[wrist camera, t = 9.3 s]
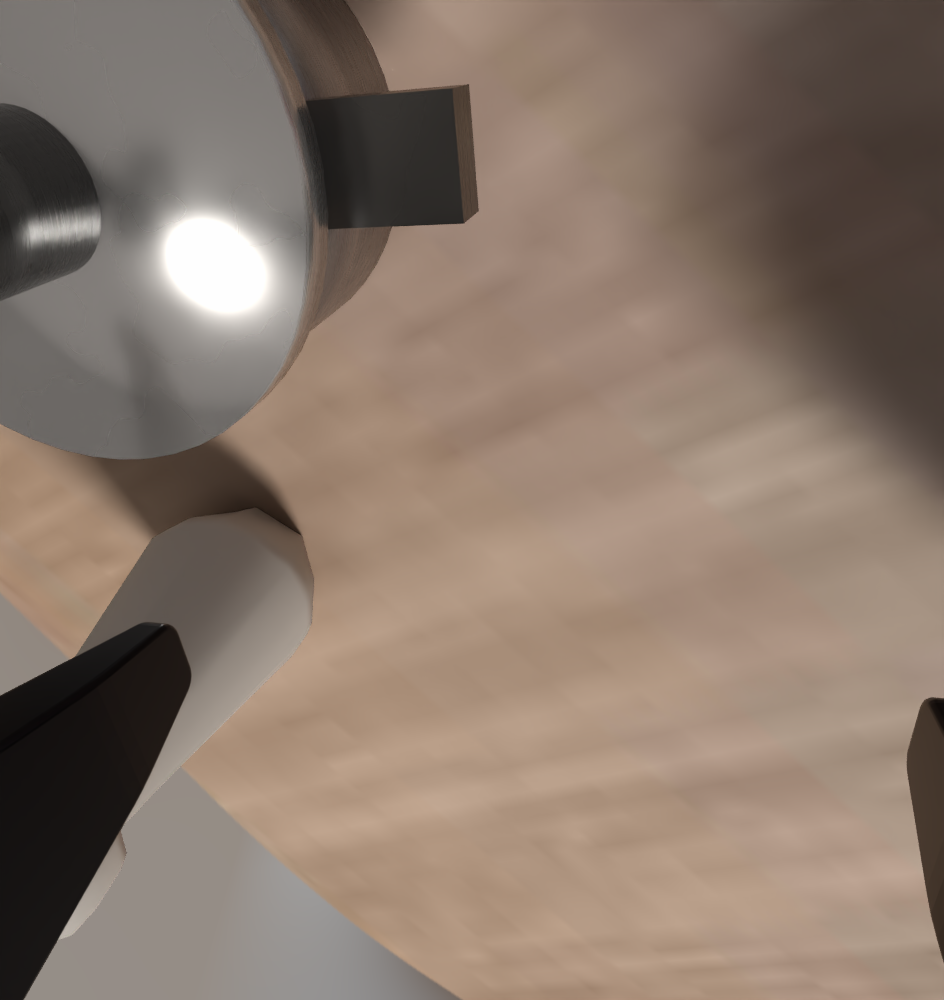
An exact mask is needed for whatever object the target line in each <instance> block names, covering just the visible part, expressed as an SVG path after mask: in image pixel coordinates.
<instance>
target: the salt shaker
mask: <svg viewBox="0 0 944 1000" xmlns="http://www.w3.org/2000/svg"><path fill="white" fill-rule="evenodd" d="M313 592H314V577H313V574H312V570H311V566H310V563H309V559H308V556H307V552H306V549H305V545H304V541H303V538H302V536H301V535H299V534H298V533H296V532H294V531H293V530H291V529H290V528H288V527H287V526H285V525H283V524H282V523H280V522H279V521H277V520H275V519H274V518H272V517H271V516H269V515H268V514H266V513H264V512H263V511H261V510H260V509H258V508H256V507H255V508H251V509H246V510H242V511H237V512H231V513H223V514H216V515H208V516H200V517H192V518H189V519H187V520H185V521H183V522H181V523H179V524H177V525H175V526H173V527H171V528H169V529H167V530H165V531H163V532H162V533H160V534H159V535H157V536H155V537H154V538H152V540H151V541H150V543H149V544H148V546H147V547H146V549H145V550H144V552H143V553H142V555H141V557H140V558H139V560H138V561H137V563H136V564H135V566H134V567H133V569H132V570H131V572H130V573H129V575H128V576H127V578H126V580H125V581H124V583H123V584H122V586H121V587H120V589H119V590H118V592H117V593H116V595H115V596H114V598H113V599H112V601H111V603H110V604H109V606H108V607H107V609H106V610H105V612H104V613H103V615H102V616H101V618H100V619H99V621H98V622H97V624H96V626H95V627H94V629H93V630H92V632H91V633H90V635H89V636H88V638H87V639H86V641H85V642H84V644H83V646H82V647H81V649H80V650H79V652H78V653H77V655H76V656H78V655H80V654H81V653H83V652H85V651H87V650H89V649H91V648H93V647H95V646H97V645H99V644H101V643H103V642H105V641H107V640H108V639H110V638H112V637H114V636H116V635H118V634H120V633H122V632H124V631H126V630H128V629H130V628H132V627H133V626H135V625H137V624H140V623H143V622H155V623H166V624H170V625H172V626H173V627H174V628H175V629H176V630H177V632H178V634H179V636H180V639H181V642H182V645H183V648H184V650H185V653H186V656H187V659H188V662H189V664H190V667H191V673H192V678H191V684H190V688H189V690H188V693H187V695H186V697H185V699H184V702H183V704H182V706H181V708H180V710H179V713H178V715H177V717H176V719H175V722H174V724H173V726H172V728H171V730H170V733H169V735H168V737H167V739H166V741H165V744H164V746H163V748H162V750H161V753H160V755H159V757H158V759H157V761H156V764H155V766H154V768H153V770H152V773H151V775H150V777H149V779H148V781H147V783H146V785H145V787H144V789H143V791H142V793H141V795H140V797H139V798H138V800H137V802H136V804H135V806H134V808H133V809H132V811H131V813H130V815H129V816H128V818H127V820H126V822H127V821H128V820H129V819H130V818H131V817H132V816H133V815H134V814H135V813H136V812H137V811H138V810H139V809H140V808H141V807H142V806H143V805H144V804H145V802H146V801H147V800H148V799H149V798H150V797H151V796H152V795H153V794H154V793H155V792H156V791H157V790H158V789H159V788H160V787H161V786H162V785H163V783H164V782H166V781H167V780H168V778H169V777H170V776H171V775H172V774H173V773H174V772H175V771H176V770H177V769H178V768H179V767H180V766H181V765H182V764H183V763H184V762H185V761H186V760H187V759H188V758H189V757H190V756H191V755H192V754H193V753H194V752H195V751H196V750H197V749H198V748H200V747H201V746H202V745H203V744H204V743H205V742H206V741H207V740H208V739H209V738H210V737H211V736H212V735H213V734H214V733H215V732H216V731H217V730H218V729H219V728H220V727H221V726H222V725H223V724H224V723H225V722H226V721H227V720H228V719H229V718H230V717H231V716H232V715H233V714H234V713H235V712H236V711H237V710H238V709H239V708H240V707H241V706H242V705H243V704H244V703H245V702H246V701H247V700H248V699H249V698H250V697H251V696H252V695H253V694H254V693H255V692H256V691H257V690H258V689H259V688H260V687H261V686H262V685H263V684H264V683H265V682H266V681H267V680H268V679H269V678H270V677H271V676H272V675H273V674H274V673H275V672H276V671H277V670H278V669H279V668H280V667H281V666H282V665H283V664H284V663H286V662H287V661H288V660H289V659H290V658H291V657H292V655H293V654H294V652H295V651H296V649H297V648H298V646H299V645H300V644H301V642H302V641H303V639H304V638H305V636H306V635H307V633H308V630H309V628H310V625H311V623H312V610H313ZM76 656H75V657H76ZM126 822H125V823H126ZM125 823H124V824H125ZM123 826H124V825H123ZM125 856H126V849H125V846H124V842H123V838H122V834H121V830H120V832H119V834H118V836H117V837H116V839H115V841H114V843H113V844H112V846H111V848H110V850H109V851H108V853H107V855H106V857H105V858H104V860H103V862H102V864H101V865H100V867H99V869H98V871H97V872H96V874H95V876H94V878H93V879H92V881H91V883H90V885H89V886H88V888H87V890H86V892H85V893H84V895H83V897H82V899H81V900H80V902H79V904H78V906H77V907H76V909H75V911H74V913H73V914H72V916H71V918H70V920H69V921H68V923H67V925H66V927H65V928H64V930H63V932H62V934H61V935H60V937H59V939H62V938H65V937H68V936H71V935H73V934H74V933H75V932H76V930H77V929H78V928H79V927H80V926H81V925H82V924H83V923H84V922H85V921H86V920H87V919H88V917H89V916H90V915H91V914H92V913H93V912H94V911H95V910H96V908H97V907H98V905H99V903H100V902H101V901H102V899H103V897H104V896H105V894H106V893H107V891H108V889H109V888H110V886H111V885H112V883H113V881H114V880H115V878H116V876H117V875H118V873H119V872H120V870H121V868H122V866H123V863H124V860H125ZM59 939H58V940H59Z"/></svg>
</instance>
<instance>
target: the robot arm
mask: <svg viewBox="0 0 944 1000" xmlns="http://www.w3.org/2000/svg"><path fill="white" fill-rule="evenodd" d="M191 678H192V673H191V667H190V664H189V662H188V659H187V656H186V653H185V650H184V648H183V645H182V642H181V639H180V636H179V634H178V632H177V630H176V629H175V628H174V627H173V626H172V625H170V624H166V623H155V622H143V623H140V624H137V625H135V626H133V627H132V628H130V629H128V630H126V631H124V632H122V633H120V634H118V635H116V636H114V637H112V638H110V639H108V640H107V641H105V642H103V643H101V644H99V645H97V646H95V647H93V648H91V649H89V650H87V651H85V652H83V653H81V654H80V655H78V656H76V657H74V658H72V659H70V660H68V661H66V662H64V663H62V664H60V665H58V666H56V667H55V668H53V669H51V670H49V671H47V672H45V673H43V674H41V675H39V676H37V677H35V678H33V679H32V680H30V681H28V682H26V683H24V684H22V685H20V686H18V687H16V688H14V689H12V690H10V691H8V692H6V693H4V694H3V695H1V696H0V1000H24V998H25V997H26V995H27V993H28V991H29V990H30V988H31V986H32V984H33V983H34V981H35V979H36V977H37V976H38V974H39V972H40V970H41V969H42V967H43V965H44V963H45V962H46V960H47V958H48V956H49V955H50V953H51V951H52V949H53V948H54V946H55V944H56V942H57V940H58V939H59V937H60V935H61V934H62V932H63V930H64V928H65V927H66V925H67V923H68V921H69V920H70V918H71V916H72V914H73V913H74V911H75V909H76V907H77V906H78V904H79V902H80V900H81V899H82V897H83V895H84V893H85V892H86V890H87V888H88V886H89V885H90V883H91V881H92V879H93V878H94V876H95V874H96V872H97V871H98V869H99V867H100V865H101V864H102V862H103V860H104V858H105V857H106V855H107V853H108V851H109V850H110V848H111V846H112V844H113V843H114V841H115V839H116V837H117V836H118V834H119V832H120V830H121V829H122V827H123V825H124V823H125V822H126V820H127V818H128V816H129V815H130V813H131V811H132V809H133V808H134V806H135V804H136V802H137V800H138V798H139V797H140V795H141V793H142V791H143V789H144V787H145V785H146V783H147V781H148V779H149V777H150V775H151V773H152V770H153V768H154V766H155V764H156V761H157V759H158V757H159V755H160V753H161V750H162V748H163V746H164V744H165V741H166V739H167V737H168V735H169V733H170V730H171V728H172V726H173V724H174V722H175V719H176V717H177V715H178V713H179V710H180V708H181V706H182V704H183V702H184V699H185V697H186V695H187V693H188V690H189V688H190V684H191ZM907 774H908V780H909V786H910V793H911V799H912V805H913V811H914V817H915V823H916V830H917V836H918V842H919V848H920V854H921V861H922V867H923V873H924V879H925V885H926V891H927V897H928V902H929V908H930V913H931V917H932V921H933V925H934V929H935V933H936V937H937V941H938V944H939V948H940V951H941V955H942V958H943V962H944V698H934V697H932V698H928V699H926V700H924V702H923V703H922V705H921V707H920V710H919V713H918V717H917V720H916V724H915V727H914V731H913V734H912V738H911V741H910V745H909V748H908V753H907Z"/></svg>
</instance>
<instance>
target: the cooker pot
mask: <svg viewBox="0 0 944 1000" xmlns="http://www.w3.org/2000/svg"><path fill="white" fill-rule="evenodd" d="M258 2H259V4H260V5H261V7H262V9H263V11H264V12H265V14H266V16H267V17H268V19H269V21H270V23H271V24H272V26H273V28H274V29H275V31H276V33H277V34H278V37H279V39H280V41H281V43H282V45H283V48H284V50H285V52H286V54H287V56H288V59H289V61H290V63H291V65H292V67H293V70H294V72H295V74H296V76H297V78H298V81H299V84H300V87H301V90H302V93H303V95H304V98H305V101H306V104H307V107H308V110H309V113H310V116H311V119H312V122H313V125H314V129H315V134H316V138H317V143H318V147H319V152H320V156H321V161H322V165H323V170H324V179H325V188H326V197H327V207H328V255H327V262H326V270H325V277H324V285H323V290H322V294H321V298H320V301H319V305H318V309H317V312H316V316H315V320H314V323H313V325H312V327H311V330H312V329H314V328H315V327H316V326H317V325H319V324H320V323H321V322H322V321H324V320H325V319H326V318H327V317H329V316H330V315H331V314H333V313H334V312H335V311H336V310H337V309H339V308H340V307H341V306H342V305H343V304H345V303H346V302H347V301H348V300H349V299H351V298H352V296H353V295H354V294H355V293H356V292H357V291H358V290H359V289H360V287H361V286H362V285H363V284H364V283H365V281H366V280H367V278H368V277H369V275H370V274H371V272H372V271H373V269H374V268H375V266H376V265H377V263H378V261H379V258H380V256H381V254H382V252H383V250H384V248H385V245H386V243H387V241H388V237H389V234H390V231H391V228H392V226H415V225H438V224H461V223H465V222H466V221H467V220H468V219H470V218H471V217H472V216H473V215H474V214H475V213H477V212H478V211H479V210H478V197H477V184H476V171H475V157H474V144H473V131H472V118H471V105H470V92H469V84H467V85H456V86H445V87H434V88H422V89H411V90H400V91H389V90H388V87H387V84H386V80H385V77H384V74H383V72H382V69H381V67H380V65H379V62H378V60H377V57H376V55H375V53H374V50H373V48H372V46H371V44H370V42H369V40H368V39H367V37H366V35H365V33H364V31H363V30H362V28H361V26H360V24H359V22H358V20H357V19H356V17H355V16H354V14H353V13H352V12H351V10H350V9H349V7H348V6H347V5H346V3H345V2H344V0H258ZM311 330H310V331H311Z"/></svg>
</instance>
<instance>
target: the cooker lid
mask: <svg viewBox="0 0 944 1000" xmlns="http://www.w3.org/2000/svg"><path fill="white" fill-rule="evenodd" d="M327 255H328V207H327V197H326V188H325V179H324V170H323V165H322V161H321V156H320V152H319V147H318V143H317V138H316V134H315V129H314V125H313V122H312V119H311V116H310V113H309V110H308V107H307V104H306V101H305V98H304V95H303V93H302V90H301V87H300V84H299V81H298V78H297V76H296V74H295V72H294V70H293V67H292V65H291V63H290V61H289V59H288V56H287V54H286V52H285V50H284V48H283V45H282V43H281V41H280V39H279V37H278V34H277V33H276V31H275V29H274V28H273V26H272V24H271V23H270V21H269V19H268V17H267V16H266V14H265V12H264V11H263V9H262V7H261V5H260V4H259V2H258V0H0V424H2V425H4V426H6V427H8V428H10V429H12V430H14V431H16V432H18V433H21V434H23V435H25V436H27V437H29V438H31V439H33V440H36V441H39V442H42V443H45V444H48V445H50V446H53V447H56V448H59V449H62V450H66V451H70V452H74V453H79V454H83V455H87V456H92V457H101V458H111V459H149V458H155V457H160V456H166V455H172V454H176V453H179V452H182V451H185V450H187V449H190V448H193V447H196V446H199V445H201V444H203V443H205V442H207V441H208V440H210V439H212V438H214V437H216V436H218V435H219V434H221V433H223V432H224V431H226V430H227V429H228V428H229V427H231V426H232V425H233V424H234V423H236V422H237V421H238V420H239V419H241V418H242V417H243V416H244V415H246V414H247V413H248V412H249V411H250V410H251V409H253V408H254V407H255V406H256V405H257V404H258V403H260V402H261V401H262V400H263V399H264V398H265V397H266V396H267V395H268V394H269V393H270V392H271V391H272V390H273V389H274V388H275V386H276V385H277V384H278V383H279V382H280V381H281V380H282V379H283V378H284V376H285V375H286V374H287V372H288V371H289V369H290V367H291V366H292V364H293V363H294V361H295V360H296V358H297V357H298V355H299V353H300V352H301V350H302V348H303V345H304V343H305V341H306V339H307V336H308V334H309V332H310V330H311V327H312V325H313V323H314V320H315V316H316V312H317V309H318V305H319V301H320V298H321V294H322V290H323V285H324V277H325V270H326V262H327Z"/></svg>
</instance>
